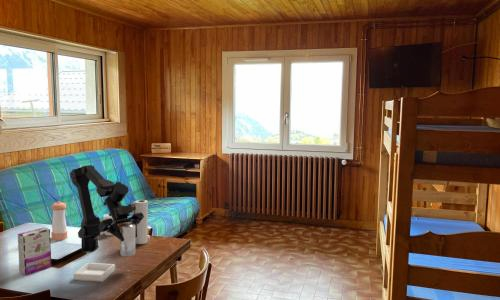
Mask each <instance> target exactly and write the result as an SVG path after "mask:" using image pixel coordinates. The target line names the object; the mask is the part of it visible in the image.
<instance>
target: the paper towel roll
mask: <svg viewBox="0 0 500 300" xmlns="http://www.w3.org/2000/svg"><path fill="white" fill-rule="evenodd" d="M131 203H134V204H135V206H136V210H133V212H131V217H132V215H133V214H134V213H139V212H141V213H143V215H144V218H143V219H142V220H141V222H140V223H139V224H137V238H135V245H145V244H147V243H148V240H149V239H148V234H149V233H148V230H149V229H148V226H149V225H148V224H149V223H148V219H149V217H148V216H149V215H148V214H149V213H148V212H149V205H148V204H149V203H148V200H146V199H138V200H135V201H133V202H131Z"/></svg>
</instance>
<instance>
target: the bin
mask: <svg viewBox="0 0 500 300" xmlns="http://www.w3.org/2000/svg"><path fill="white" fill-rule="evenodd" d="M115 270H116V264H114V263H103V262H102V263H100V262H87V263H85V265H83V266H81V268H79V269H78V270H76V272H74V273H73V281H80V282H81V281H83V282H98V283H103V282H104V281H105V280H106V279H108V277H109V276H110V275H112V273H113V272H114V271H115Z"/></svg>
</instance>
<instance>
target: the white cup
mask: <svg viewBox="0 0 500 300" xmlns="http://www.w3.org/2000/svg"><path fill="white" fill-rule="evenodd" d="M102 218H103V220H105V219H110V218H111V219H112V216H109V213H105V214H103V217H102ZM112 220H113V219H112ZM119 225H120V224H119ZM119 225H118V227H119ZM104 235H105V236H114V235H113V234H111V233H109V232H108V233H107V231H105V232H104Z"/></svg>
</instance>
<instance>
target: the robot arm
mask: <svg viewBox="0 0 500 300" xmlns="http://www.w3.org/2000/svg"><path fill="white" fill-rule="evenodd" d="M69 177H70V179H71V183H72V184H73V185H74V186H75V188H77V189H76V190H77V195H78V198H79V203H80V207H81V213H82V220H81V223H80V228H79V231H78V232H77V236H78V237H77V238H79V239H81V248H83V249H82V250H81V251H82V252H94V251H96V250H97V249H98V248H100V246H99V239H98V237H99V236H101V233H105V231H107V233H108V232H109V233H111V234H113V235H112V236H114V237H115V238H116V239H118V240H121V241H123V240H124V239H123V236H122V234H121V232H120V227H119V226H118V225H123V224H135V238H137V224H139V223H140V222H141V220H142V219H143V218H144V215H143V213H141V212H139V213H134V214H133V215H132V212H133V210H136V206H135V204H134V203H132V202H130V203H128V204H127V205H123V204H122V202H123V200H124V199H125V198H126V196H127V194H128V193H129V188H128V186H127V185H125V184H124V183H121V182H122V181H116V182H113V181H112V180H109V179H106V178H104V176H103V175H102V174H101V173H99V171H98V170H97V169H96V168H95V166H94V165H93V164H89V165H83V166H80V167H79V168H73V169H72V170H71V171H70V173H69ZM90 181H91V183H92V184H93V185H94V186H95V187H96V190H95V191H96V193H97V194H98V196H100V198H105V197H106V198H105V199H104V201H103V206H106V207H107V209H108V212H109V213H108V214H109V216H112V219H113V220H112V219H111V218H110V219H105V220H104V219H102V221H101V220H100V217H99V216H96V215H95V213H94V208H93V203H92V198H91V193H90V189H89V185H90ZM130 213H131V215H132V217H130ZM81 251H80V252H81Z"/></svg>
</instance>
